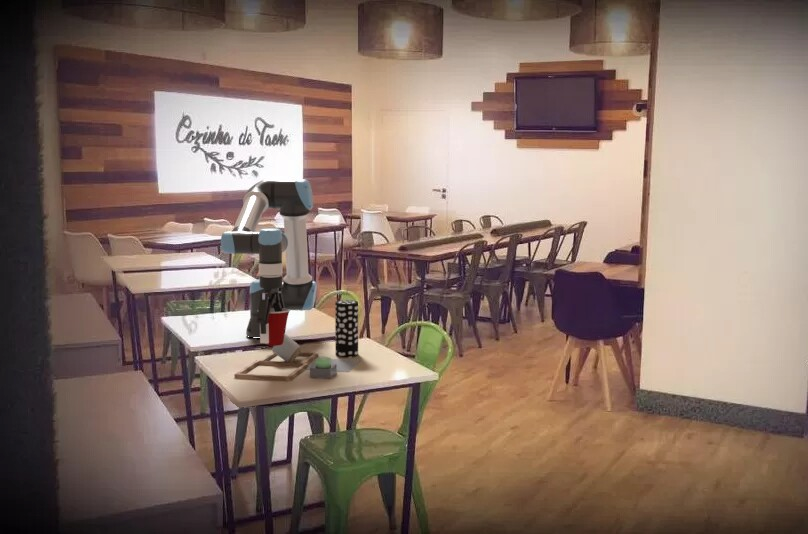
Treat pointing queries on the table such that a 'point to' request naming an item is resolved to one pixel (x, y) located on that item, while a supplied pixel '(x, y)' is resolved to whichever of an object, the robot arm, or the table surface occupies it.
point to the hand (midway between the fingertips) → (272, 338)
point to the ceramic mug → (287, 349)
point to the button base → (323, 372)
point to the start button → (323, 362)
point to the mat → (339, 364)
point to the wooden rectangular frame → (266, 361)
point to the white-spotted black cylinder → (346, 328)
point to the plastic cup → (277, 326)
